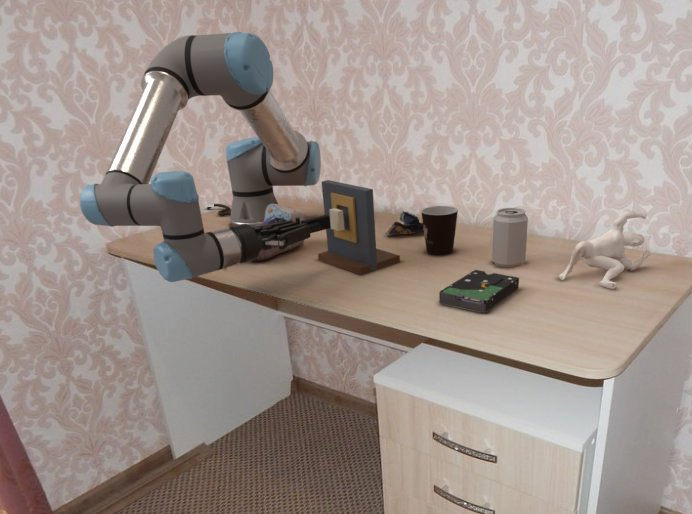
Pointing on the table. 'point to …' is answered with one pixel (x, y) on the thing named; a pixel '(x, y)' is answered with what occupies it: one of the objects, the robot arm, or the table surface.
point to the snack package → (406, 225)
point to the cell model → (276, 215)
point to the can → (509, 237)
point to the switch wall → (353, 230)
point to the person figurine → (609, 251)
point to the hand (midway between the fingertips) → (327, 221)
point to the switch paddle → (336, 219)
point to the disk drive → (479, 291)
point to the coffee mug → (439, 229)
